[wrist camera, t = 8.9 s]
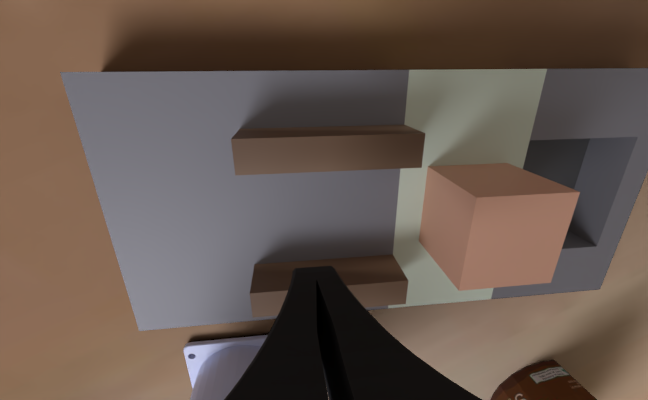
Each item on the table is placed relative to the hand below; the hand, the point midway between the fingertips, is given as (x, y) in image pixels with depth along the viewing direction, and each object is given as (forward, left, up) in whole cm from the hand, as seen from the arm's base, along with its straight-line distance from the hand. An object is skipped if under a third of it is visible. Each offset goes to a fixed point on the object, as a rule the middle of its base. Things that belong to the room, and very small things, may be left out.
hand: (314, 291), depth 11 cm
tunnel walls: (0, -1, -6) cm, 6 cm away
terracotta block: (0, -9, -6) cm, 11 cm away
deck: (0, -5, -9) cm, 11 cm away
